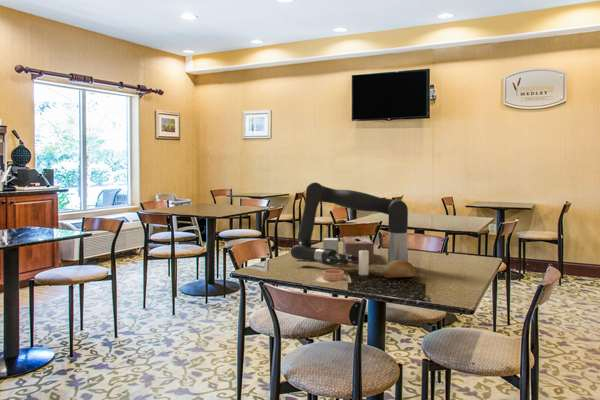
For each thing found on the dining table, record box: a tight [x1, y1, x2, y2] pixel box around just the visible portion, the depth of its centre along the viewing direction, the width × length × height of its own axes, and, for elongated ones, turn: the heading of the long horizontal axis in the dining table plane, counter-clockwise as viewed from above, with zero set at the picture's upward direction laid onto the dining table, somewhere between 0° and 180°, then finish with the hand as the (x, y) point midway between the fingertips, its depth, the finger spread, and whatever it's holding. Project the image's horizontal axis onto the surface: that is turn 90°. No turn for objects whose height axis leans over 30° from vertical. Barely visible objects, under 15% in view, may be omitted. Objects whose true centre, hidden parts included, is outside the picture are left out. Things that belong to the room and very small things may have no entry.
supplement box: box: [322, 237, 339, 253], centre depth 251 cm, size 7×7×13 cm
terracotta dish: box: [321, 268, 345, 281], centre depth 210 cm, size 9×9×3 cm
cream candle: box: [358, 249, 370, 276], centre depth 218 cm, size 4×4×13 cm
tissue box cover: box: [342, 236, 375, 263], centre depth 266 cm, size 26×14×10 cm, turn 178°
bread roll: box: [382, 260, 417, 279], centre depth 217 cm, size 10×15×8 cm, turn 96°
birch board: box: [315, 273, 352, 284], centre depth 210 cm, size 15×15×2 cm
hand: (353, 260), depth 222 cm, fingers open, 8 cm apart
